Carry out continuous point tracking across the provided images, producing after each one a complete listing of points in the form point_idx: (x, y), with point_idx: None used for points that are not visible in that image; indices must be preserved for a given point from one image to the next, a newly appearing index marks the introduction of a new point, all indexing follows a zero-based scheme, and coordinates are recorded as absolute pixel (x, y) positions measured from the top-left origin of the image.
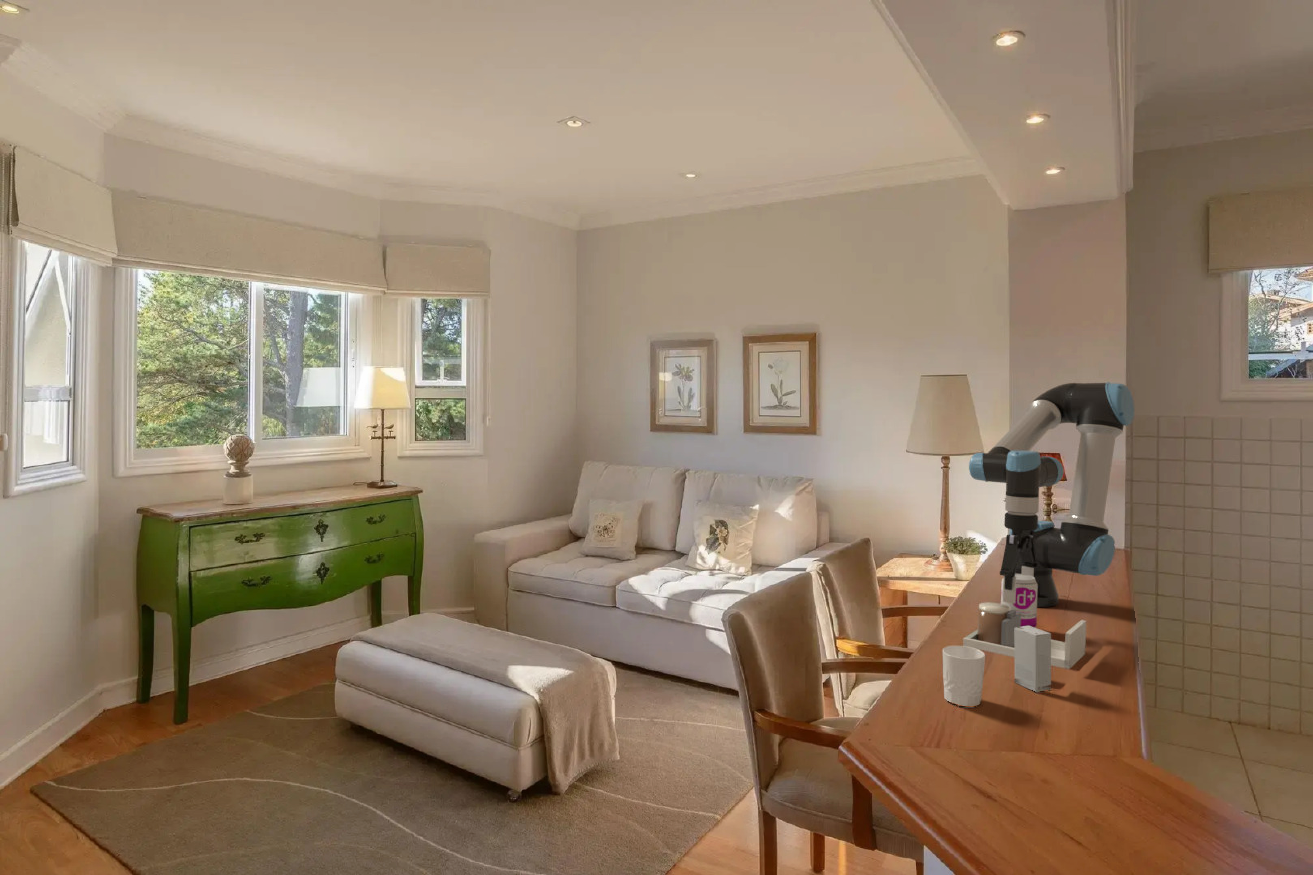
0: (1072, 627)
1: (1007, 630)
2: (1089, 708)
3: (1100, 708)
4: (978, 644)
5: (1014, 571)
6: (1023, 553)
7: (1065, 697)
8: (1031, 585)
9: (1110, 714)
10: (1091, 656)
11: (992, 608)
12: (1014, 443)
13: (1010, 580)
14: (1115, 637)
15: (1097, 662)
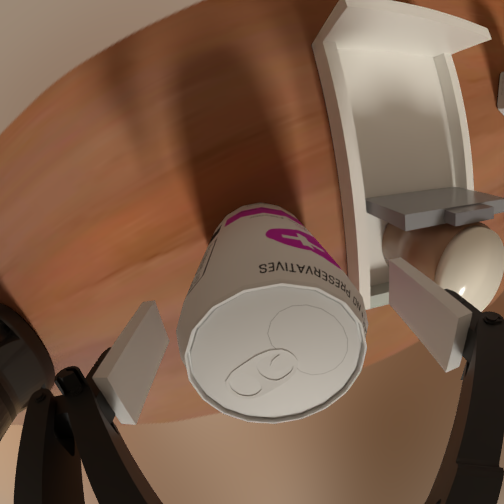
0: (446, 23)
1: (480, 195)
2: (499, 25)
3: (489, 12)
4: None
5: (498, 331)
6: (153, 496)
7: (500, 52)
8: (315, 262)
9: (491, 4)
10: (275, 41)
11: (496, 265)
12: None
13: (478, 311)
14: (69, 90)
15: (309, 20)
